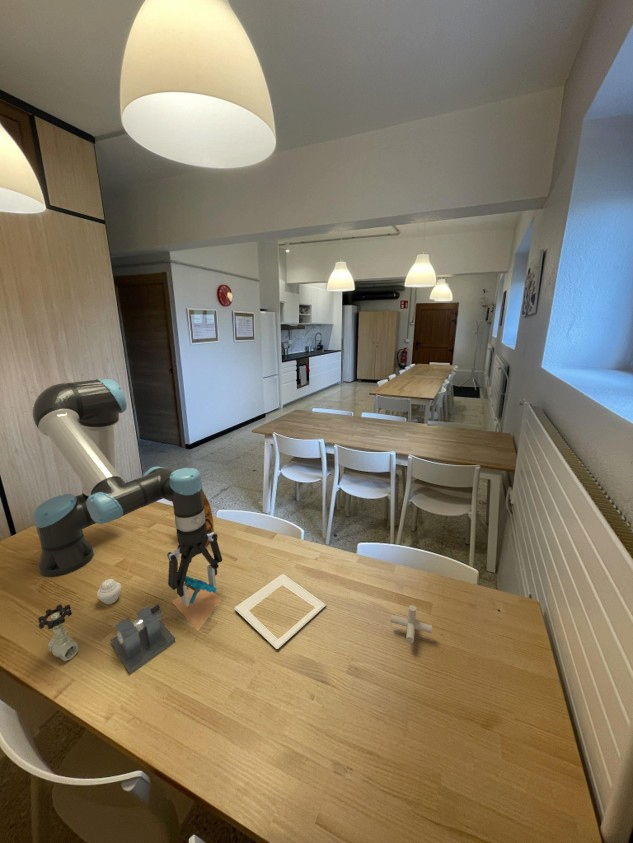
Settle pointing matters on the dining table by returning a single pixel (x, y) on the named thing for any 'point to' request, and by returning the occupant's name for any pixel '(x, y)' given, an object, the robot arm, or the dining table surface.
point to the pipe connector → (411, 624)
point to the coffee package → (208, 516)
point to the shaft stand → (141, 638)
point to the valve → (59, 633)
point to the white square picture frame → (267, 590)
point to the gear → (197, 586)
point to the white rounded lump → (109, 591)
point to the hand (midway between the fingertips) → (199, 594)
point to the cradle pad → (198, 607)
